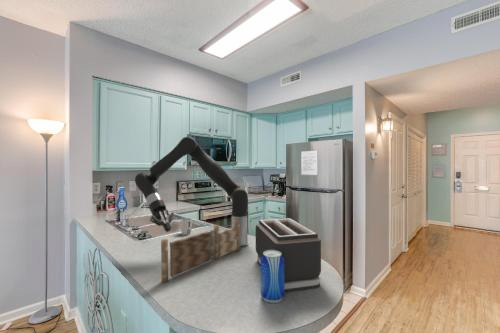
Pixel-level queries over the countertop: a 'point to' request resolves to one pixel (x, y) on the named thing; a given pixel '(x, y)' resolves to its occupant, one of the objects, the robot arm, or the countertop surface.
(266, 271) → the beer can
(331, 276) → the countertop surface
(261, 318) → the countertop surface
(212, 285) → the countertop surface
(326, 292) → the countertop surface
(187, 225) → the cup
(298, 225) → the toaster
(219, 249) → the fence
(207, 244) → the gate
